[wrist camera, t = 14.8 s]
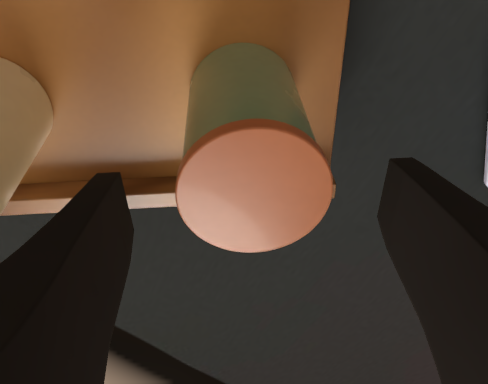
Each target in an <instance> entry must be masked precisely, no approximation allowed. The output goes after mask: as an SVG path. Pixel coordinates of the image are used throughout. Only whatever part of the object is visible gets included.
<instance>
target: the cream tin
mask: <svg viewBox="0 0 488 384" xmlns="http://www.w3.org/2000/svg"><path fill="white" fill-rule="evenodd" d="M52 125H53V110H52V106H51V102H50V100H49V98H48V95H47V94H46V92H45V90H44V89H43V87H42V86H41V85H40V83H39V82H38V81H37V80H36V79H35V78H34V77H33V76H32V75H31V74H30V73H29V72H27V71H26V70H24V69H23V68H22V67H20V66H18V65H17V64H15V63H13V62H11V61H9V60H7V59H4V58H1V57H0V215H1V213H2V212H3V210H4V208H5V207H6V205H7V203H8V202H9V200H10V198H11V197H12V195H13V193H14V192H15V190H16V188H17V187H18V185H19V183H20V182H21V180H22V178H23V177H24V175H25V173H26V172H27V170H28V168H29V167H30V165H31V163H32V162H33V160H34V158H35V157H36V155H37V153H38V152H39V150H40V148H41V147H42V145H43V143H44V142H45V140H46V138H47V137H48V135H49V133H50V131H51V129H52Z"/></svg>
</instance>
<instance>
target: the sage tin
mask: <svg viewBox="0 0 488 384" xmlns="http://www.w3.org/2000/svg"><path fill="white" fill-rule="evenodd" d="M332 194H333V177H332V173H331V169H330V166H329V164H328V161H327V159H326V156H325V154H324V152H323V151H322V149H321V148H320V146H319V145H318V144H317V142H316V139H315V136H314V134H313V131H312V128H311V125H310V123H309V120H308V117H307V114H306V112H305V109H304V106H303V103H302V101H301V98H300V95H299V93H298V90H297V87H296V84H295V82H294V79H293V76H292V73H291V71H290V69H289V67H288V66H287V64H286V63H285V62H284V61H283V59H282V58H281V57H280V56H279V55H277V54H276V53H275V52H273V51H272V50H270V49H268V48H266V47H264V46H261V45H258V44H253V43H233V44H229V45H225V46H223V47H220V48H218V49H216V50H214V51H213V52H211V53H210V54H209V55H207V56H206V57H205V58H204V59H203V60H202V61H201V62H200V64H199V65H198V66H197V68H196V70H195V71H194V74H193V76H192V79H191V83H190V89H189V99H188V108H187V118H186V127H185V137H184V146H183V156H182V161H181V163H180V166H179V169H178V172H177V177H176V186H175V200H176V204H177V208H178V211H179V213H180V215H181V217H182V219H183V220H184V222H185V224H186V225H187V226H188V227H189V228H190V230H191V231H193V232H194V233H195V234H196V235H197V236H198V237H200V238H201V239H203V240H204V241H206V242H208V243H210V244H212V245H214V246H217V247H219V248H222V249H226V250H230V251H236V252H264V251H269V250H274V249H277V248H281V247H284V246H286V245H289V244H291V243H293V242H295V241H297V240H299V239H300V238H302V237H303V236H305V235H306V234H307V233H309V232H310V231H311V230H312V229H313V228H314V227H315V226H316V225H317V224H318V223H319V222H320V221H321V219H322V218H323V216H324V215H325V213H326V211H327V209H328V207H329V205H330V202H331V198H332Z"/></svg>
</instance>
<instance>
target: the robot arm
mask: <svg viewBox="0 0 488 384" xmlns="http://www.w3.org/2000/svg"><path fill="white" fill-rule="evenodd" d="M484 183H485V184H486V186H487V187H488V123H487V138H486V153H485V168H484ZM377 218H378V221H379V225H380V229H381V232H382V235H383V239H384V242H385V245H386V248H387V250H388V253H389V255H390V257H391V259H392V261H393V264H394V266H395V268H396V270H397V272H398V275H399V277H400V279H401V281H402V283H403V285H404V287H405V289H406V292H407V294H408V296H409V298H410V300H411V302H412V304H413V307H414V309H415V311H416V313H417V315H418V317H419V320H420V322H421V325H422V327H423V329H424V332H425V335H426V338H427V341H428V344H429V347H430V350H431V352H432V355H433V358H434V361H435V364H436V367H437V371H438V374H439V377H440V380H441V383H442V384H488V207H487V206H485V205H484V204H482V203H480V202H479V201H477V200H476V199H474V198H473V197H471V196H470V195H468V194H467V193H465V192H464V191H462V190H461V189H459V188H458V187H456V186H455V185H453V184H452V183H450V182H449V181H447V180H446V179H445V178H443V177H442V176H440V175H439V174H437V173H436V172H434V171H433V170H431V169H430V168H428V167H427V166H425V165H424V164H422V163H421V162H419V161H417V160H416V159H414V158H392V159H390V160H389V165H388V169H387V174H386V178H385V183H384V188H383V192H382V197H381V201H380V206H379V210H378V215H377ZM133 234H134V228H133V224H132V219H131V215H130V211H129V207H128V203H127V198H126V194H125V190H124V186H123V182H122V178H121V173H120V172H109V173H97V174H96V175H94V176H93V177H92V178H91V179H90V180H89V181H88V183H87V184H86V185H85V186H84V187H83V188H82V189H81V190H80V191H79V192H78V193H77V194H76V195H75V196H74V197H73V198H72V199H71V200H70V201H69V202H68V203H67V204H66V205H65V206H64V207H63V208H62V209H61V210H60V211H59V212H58V213H57V214H56V215H55V216H54V217H53V218H52V219H51V220H50V221H49V222H48V223H47V224H46V225H45V226H44V227H42V228H41V229H40V230H39V231H38V232H37V233H36V234H35V235H34V236H33V237H31V238H30V239H29V240H28V241H27V242H26V243H25V244H24V245H23V246H21V247H20V248H19V249H18V250H17V251H15V252H14V253H13V254H12V255H10V256H9V257H8V258H7V259H5V260H4V261H3V262H2V263H0V384H104V379H105V372H106V365H107V358H108V351H109V347H110V342H111V337H112V333H113V329H114V325H115V321H116V317H117V313H118V309H119V305H120V302H121V298H122V294H123V290H124V286H125V282H126V278H127V274H128V270H129V266H130V261H131V253H132V244H133Z"/></svg>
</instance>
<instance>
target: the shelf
mask: <svg viewBox="0 0 488 384" xmlns="http://www.w3.org/2000/svg"><path fill="white" fill-rule="evenodd" d="M349 6H350V0H0V57H1V58H4V59H7V60H9V61H11V62H13V63H15V64H17V65H18V66H20V67H22V68H23V69H24V70H26V71H27V72H29V73H30V74H31V75H32V76H33V77H34V78H35V79H36V80H37V81H38V82H39V83H40V85H41V86H42V87H43V89H44V90H45V92H46V94H47V95H48V98H49V100H50V102H51V106H52V110H53V125H52V129H51V131H50V133H49V135H48V137H47V138H46V140H45V142H44V143H43V145H42V147H41V148H40V150H39V152H38V153H37V155H36V157H35V158H34V160H33V162H32V163H31V165H30V167H29V168H28V170H27V172H26V173H25V175H24V177H23V178H22V180H21V182H20V183H19V185H18V187H17V188H16V190H15V192H14V193H13V195H12V197H11V198H10V200H9V202H8V203H7V205H6V207H5V208H4V210H3V212H2V213H1V215H0V216H2V215H21V214H40V213H58V212H59V211H60V210H61V209H62V208H63V207H64V206H65V205H66V204H67V203H68V202H69V201H70V200H71V199H72V198H73V197H74V196H75V195H76V194H77V193H78V192H79V191H80V190H81V189H82V188H83V187H84V186H85V185H86V184H87V183H88V181H89V180H90V179H91V178H92V177H93V176H94V175H96V174H97V173H109V172H120V173H121V178H122V182H123V186H124V190H125V194H126V198H127V203H128V207H129V209H136V208H155V207H174V206H177V204H176V200H175V186H176V177H177V172H178V169H179V166H180V163H181V161H182V156H183V146H184V137H185V127H186V118H187V108H188V99H189V89H190V83H191V79H192V76H193V74H194V71H195V70H196V68H197V66H198V65H199V64H200V62H201V61H202V60H203V59H204V58H205V57H206V56H207V55H209V54H210V53H211V52H213V51H214V50H216V49H218V48H220V47H223V46H225V45H229V44H233V43H253V44H258V45H261V46H264V47H266V48H268V49H270V50H272V51H273V52H275V53H276V54H277V55H279V56H280V57H281V58H282V59H283V61H284V62H285V63H286V64H287V66H288V67H289V69H290V71H291V73H292V76H293V79H294V82H295V84H296V87H297V90H298V93H299V95H300V98H301V101H302V103H303V106H304V109H305V112H306V114H307V117H308V120H309V123H310V125H311V128H312V131H313V134H314V136H315V139H316V142H317V144H318V145H319V146H320V148H321V149H322V151H323V152H324V154H325V156H326V159H327V161H328V164H329V166H330V164H331V155H332V147H333V139H334V130H335V122H336V114H337V105H338V97H339V89H340V80H341V72H342V64H343V56H344V47H345V39H346V31H347V22H348V14H349ZM331 173H332V172H331ZM332 177H333V175H332ZM335 189H336V183H335V180H334V177H333V194H332V198H334V197H335Z"/></svg>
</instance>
